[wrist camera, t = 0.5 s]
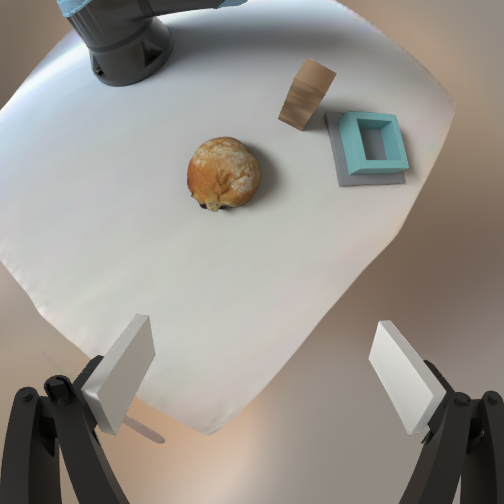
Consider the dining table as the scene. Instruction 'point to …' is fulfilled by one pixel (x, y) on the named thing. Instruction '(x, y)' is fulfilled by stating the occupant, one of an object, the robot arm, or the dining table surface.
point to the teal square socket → (367, 148)
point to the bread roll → (222, 174)
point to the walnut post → (306, 93)
